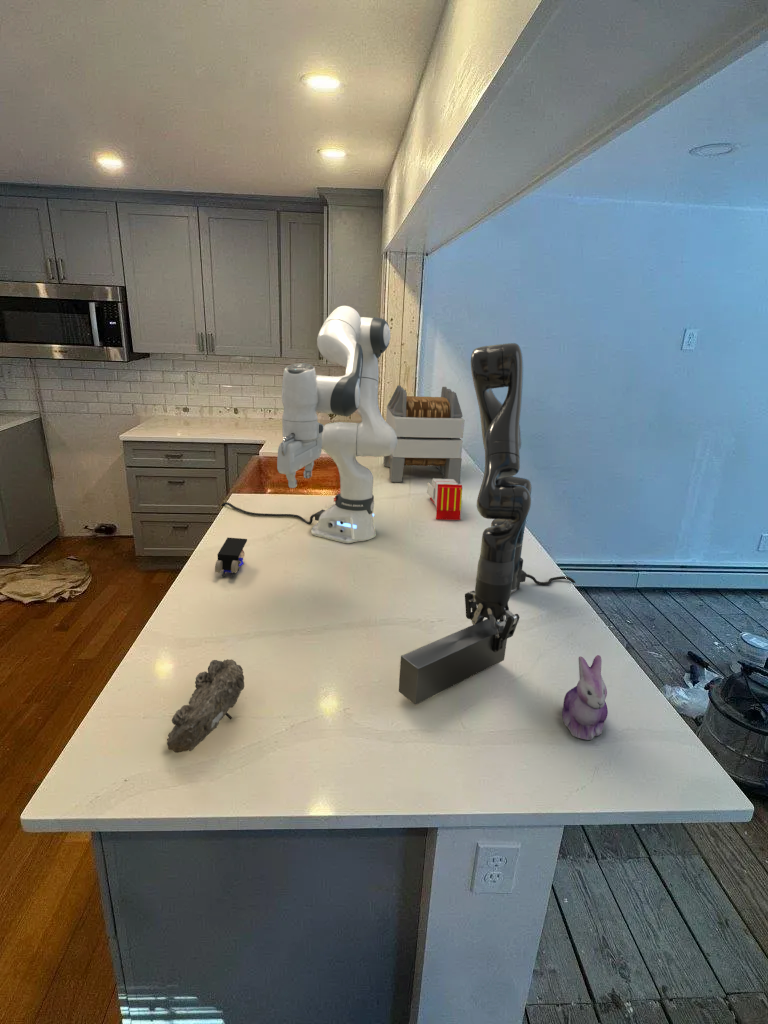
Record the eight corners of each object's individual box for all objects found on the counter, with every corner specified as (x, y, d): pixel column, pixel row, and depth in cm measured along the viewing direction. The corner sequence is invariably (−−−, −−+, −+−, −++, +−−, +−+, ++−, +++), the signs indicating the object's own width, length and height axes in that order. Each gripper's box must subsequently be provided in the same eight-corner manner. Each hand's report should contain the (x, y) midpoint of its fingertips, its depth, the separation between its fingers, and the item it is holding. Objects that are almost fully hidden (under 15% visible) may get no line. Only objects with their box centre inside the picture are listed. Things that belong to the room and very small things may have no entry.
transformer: (382, 463, 289) (386, 382, 275) (445, 464, 293) (451, 384, 279) (390, 482, 257) (394, 392, 243) (460, 483, 261) (468, 394, 247)
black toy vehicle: (238, 584, 162) (249, 557, 175) (236, 562, 158) (247, 536, 172) (215, 584, 161) (227, 556, 175) (212, 561, 158) (225, 535, 171)
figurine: (586, 749, 104) (600, 681, 99) (547, 715, 112) (558, 650, 107) (622, 734, 108) (637, 668, 103) (582, 702, 117) (594, 639, 112)
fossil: (192, 660, 117) (244, 628, 112) (224, 691, 120) (276, 661, 115) (142, 746, 98) (202, 712, 93) (182, 779, 101) (242, 748, 96)
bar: (415, 705, 111) (418, 668, 108) (398, 691, 115) (400, 655, 112) (504, 660, 127) (508, 627, 124) (486, 649, 131) (490, 617, 128)
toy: (454, 474, 240) (466, 486, 210) (452, 505, 242) (464, 521, 213) (426, 473, 239) (434, 485, 210) (424, 504, 242) (432, 520, 212)
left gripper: (294, 439, 133) (294, 495, 138) (326, 424, 152) (325, 473, 157) (269, 436, 135) (271, 492, 140) (304, 422, 154) (304, 471, 158)
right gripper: (533, 584, 117) (523, 654, 122) (481, 559, 127) (474, 625, 133) (509, 593, 112) (500, 666, 118) (458, 567, 123) (451, 635, 128)
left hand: (300, 482), depth 148 cm, fingers open, 8 cm apart
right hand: (486, 644), depth 125 cm, fingers closed on bar, 5 cm apart
